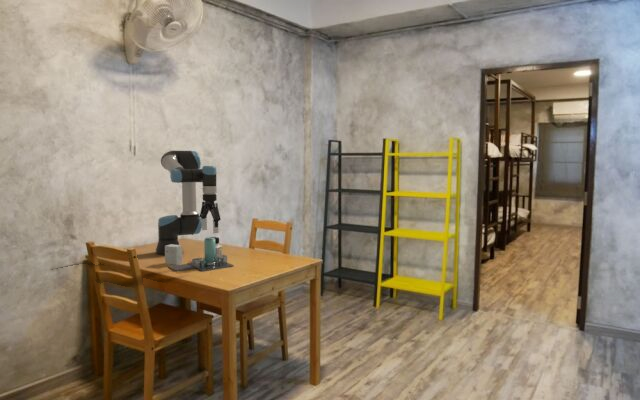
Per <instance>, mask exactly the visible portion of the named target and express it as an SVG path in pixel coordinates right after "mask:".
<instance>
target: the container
mask: <svg viewBox="0 0 640 400" xmlns="http://www.w3.org/2000/svg"><path fill="white" fill-rule="evenodd" d="M209 238H215V255H223V245H222V244H220V238H219V237H218V236H211V237H209Z"/></svg>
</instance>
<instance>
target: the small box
mask: <svg viewBox="0 0 640 400" xmlns="http://www.w3.org/2000/svg"><path fill="white" fill-rule="evenodd" d="M164 261H165V262H164V264H165V265H171V266H175V265H182V264H184V261H183V245H182V244H179V245H174V244H170V245H166V246H165V255H164Z"/></svg>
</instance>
